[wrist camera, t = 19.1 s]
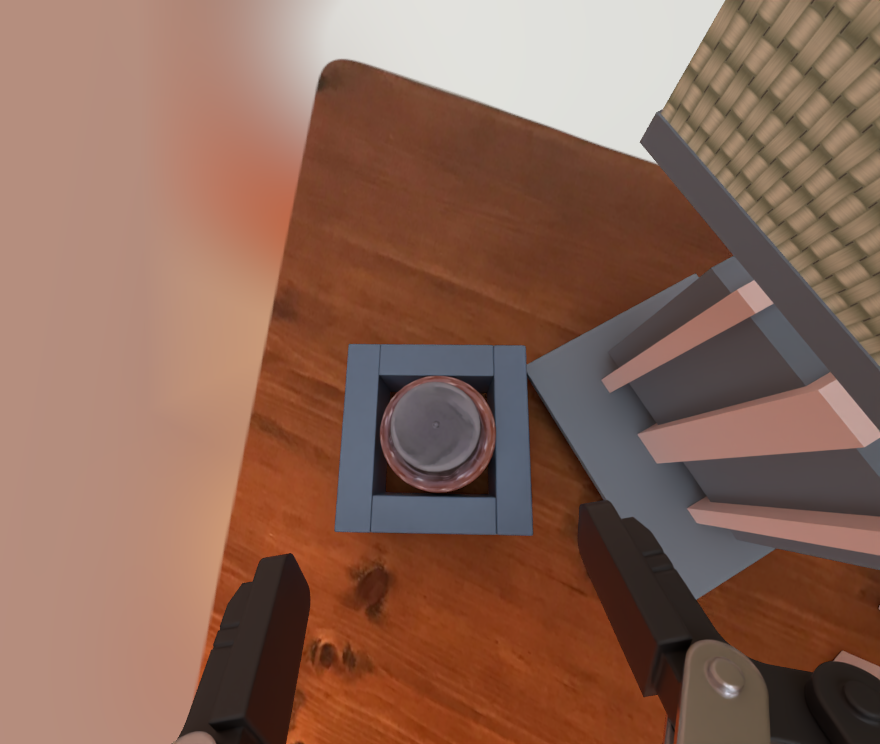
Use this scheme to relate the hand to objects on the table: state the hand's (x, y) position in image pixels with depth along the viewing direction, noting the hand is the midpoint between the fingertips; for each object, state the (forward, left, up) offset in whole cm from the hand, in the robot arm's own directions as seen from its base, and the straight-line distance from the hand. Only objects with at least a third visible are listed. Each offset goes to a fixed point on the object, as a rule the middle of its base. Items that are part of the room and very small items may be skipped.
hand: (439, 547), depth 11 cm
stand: (-1, +4, -17) cm, 17 cm away
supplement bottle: (0, +4, -17) cm, 17 cm away
